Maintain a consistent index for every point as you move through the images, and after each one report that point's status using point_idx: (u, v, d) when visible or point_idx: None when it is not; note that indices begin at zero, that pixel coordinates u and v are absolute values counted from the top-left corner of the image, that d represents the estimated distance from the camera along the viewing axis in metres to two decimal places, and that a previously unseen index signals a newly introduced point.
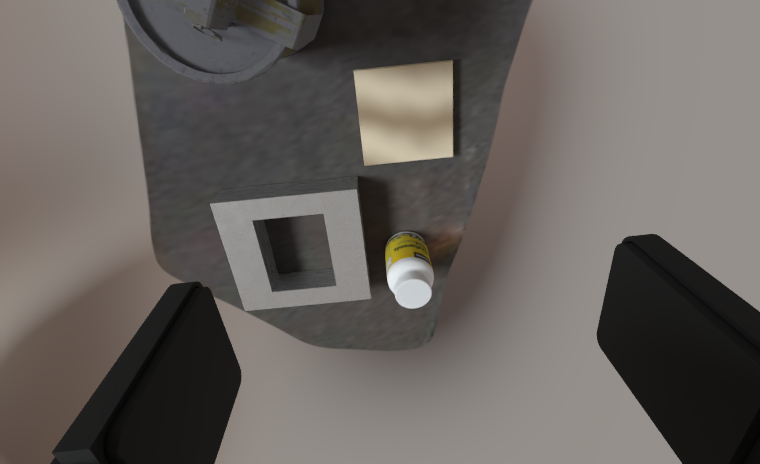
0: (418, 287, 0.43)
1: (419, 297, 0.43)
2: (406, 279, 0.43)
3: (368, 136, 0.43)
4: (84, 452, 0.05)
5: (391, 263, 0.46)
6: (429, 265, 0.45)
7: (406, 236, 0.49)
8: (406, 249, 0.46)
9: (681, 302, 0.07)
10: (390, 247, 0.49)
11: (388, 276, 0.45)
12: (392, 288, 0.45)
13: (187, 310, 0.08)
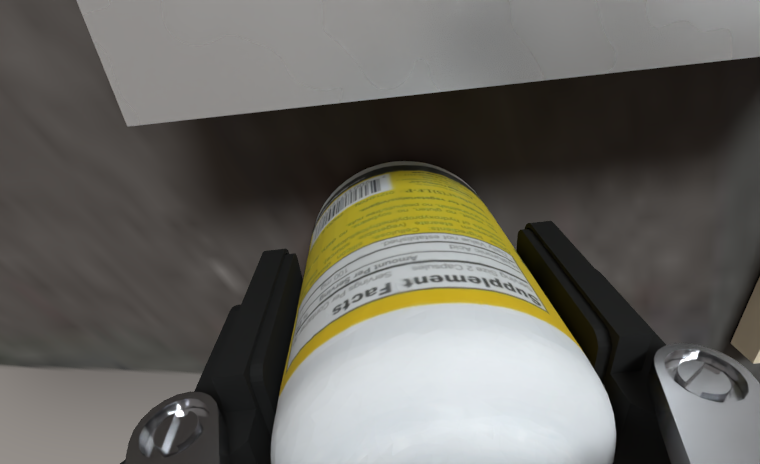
0: None
1: None
2: None
3: None
4: (237, 378, 0.06)
5: (541, 304, 0.06)
6: None
7: None
8: None
9: (554, 279, 0.08)
10: (482, 210, 0.09)
11: (494, 336, 0.05)
12: (392, 397, 0.05)
13: (285, 272, 0.09)
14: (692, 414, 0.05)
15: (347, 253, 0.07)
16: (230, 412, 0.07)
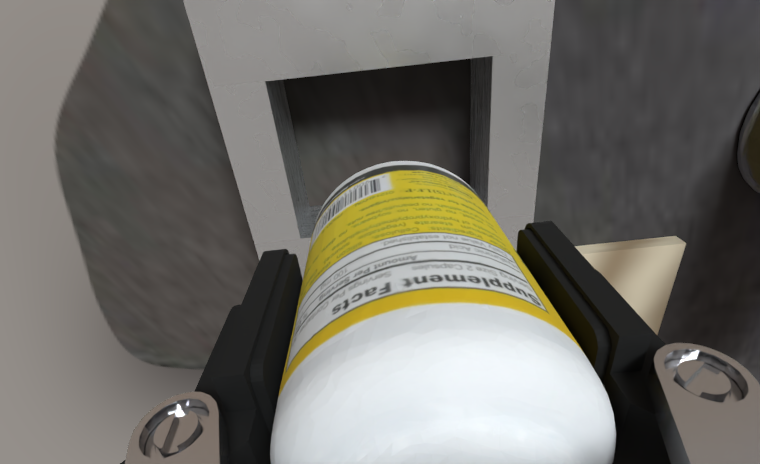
0: None
1: None
2: None
3: None
4: (237, 378, 0.06)
5: (541, 303, 0.06)
6: None
7: None
8: None
9: (554, 279, 0.08)
10: (482, 210, 0.09)
11: (494, 335, 0.05)
12: (392, 397, 0.05)
13: (285, 272, 0.09)
14: (692, 414, 0.05)
15: (346, 253, 0.07)
16: (230, 412, 0.07)
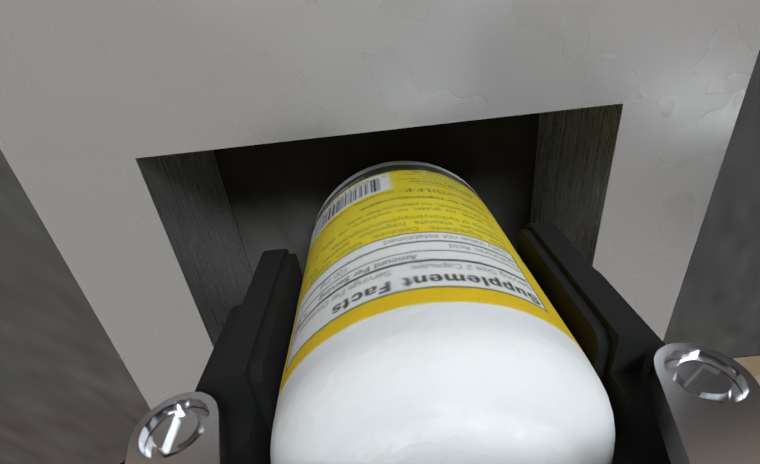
0: None
1: None
2: None
3: None
4: (237, 378, 0.06)
5: (541, 303, 0.06)
6: None
7: None
8: None
9: (554, 278, 0.08)
10: (482, 209, 0.09)
11: (493, 334, 0.05)
12: (392, 395, 0.05)
13: (285, 271, 0.09)
14: (692, 414, 0.05)
15: (347, 253, 0.07)
16: (230, 412, 0.07)
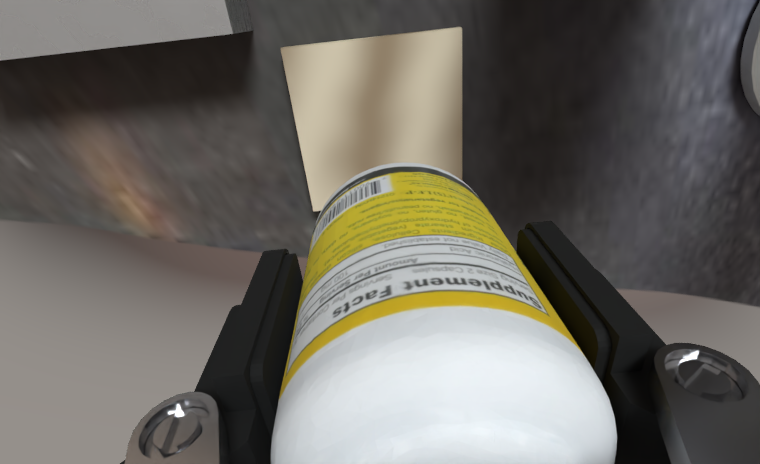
0: None
1: None
2: None
3: (341, 57, 0.22)
4: (236, 378, 0.06)
5: (542, 306, 0.06)
6: None
7: None
8: None
9: (554, 279, 0.08)
10: (483, 212, 0.09)
11: (495, 339, 0.05)
12: (393, 401, 0.05)
13: (284, 272, 0.09)
14: (692, 414, 0.05)
15: (347, 255, 0.07)
16: (230, 412, 0.07)
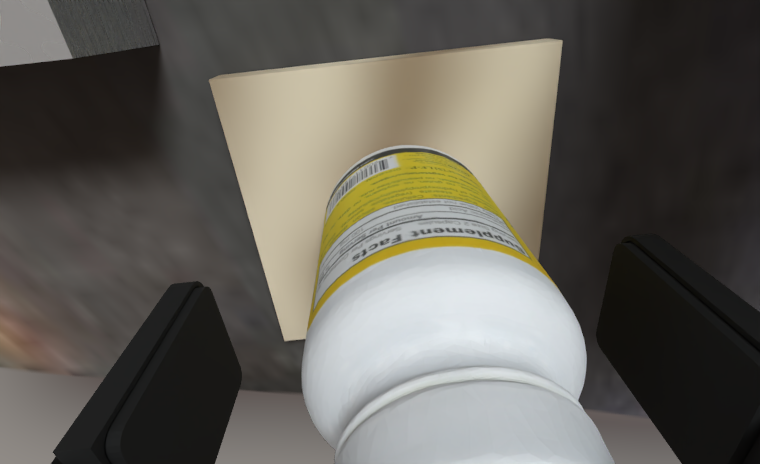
0: None
1: None
2: None
3: (327, 96, 0.12)
4: (85, 451, 0.05)
5: (525, 252, 0.07)
6: None
7: None
8: None
9: (680, 302, 0.07)
10: (478, 186, 0.11)
11: (485, 269, 0.06)
12: (405, 314, 0.06)
13: (187, 310, 0.08)
14: None
15: (361, 217, 0.09)
16: None
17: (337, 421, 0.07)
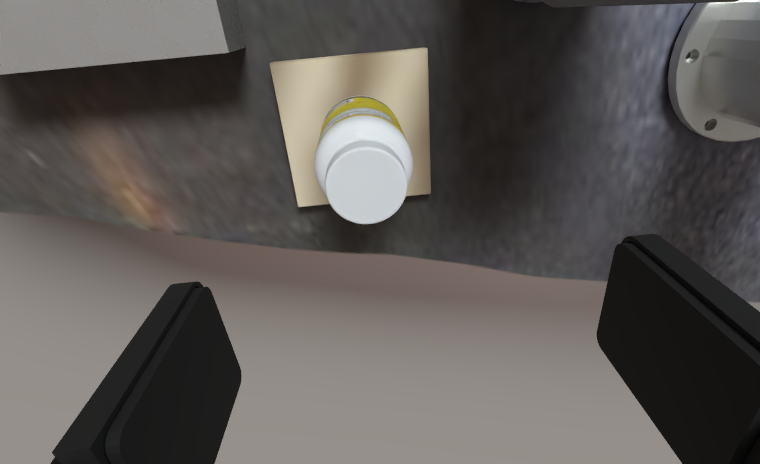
0: (385, 197, 0.19)
1: (357, 201, 0.19)
2: (404, 168, 0.19)
3: (323, 72, 0.26)
4: (84, 452, 0.05)
5: (393, 123, 0.22)
6: None
7: None
8: None
9: (681, 302, 0.07)
10: (388, 110, 0.25)
11: (373, 120, 0.20)
12: (347, 131, 0.20)
13: (187, 310, 0.08)
14: None
15: (336, 115, 0.23)
16: None
17: None
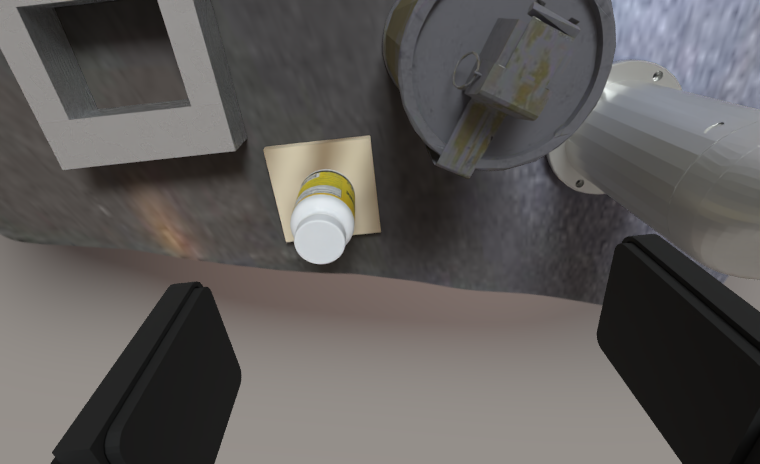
0: (331, 248, 0.31)
1: (314, 250, 0.31)
2: (342, 231, 0.31)
3: (299, 154, 0.38)
4: (84, 452, 0.05)
5: (340, 197, 0.33)
6: None
7: (354, 199, 0.38)
8: (354, 209, 0.35)
9: (681, 302, 0.07)
10: (342, 182, 0.36)
11: (325, 198, 0.32)
12: (309, 206, 0.32)
13: (187, 310, 0.08)
14: None
15: (305, 189, 0.35)
16: None
17: None
